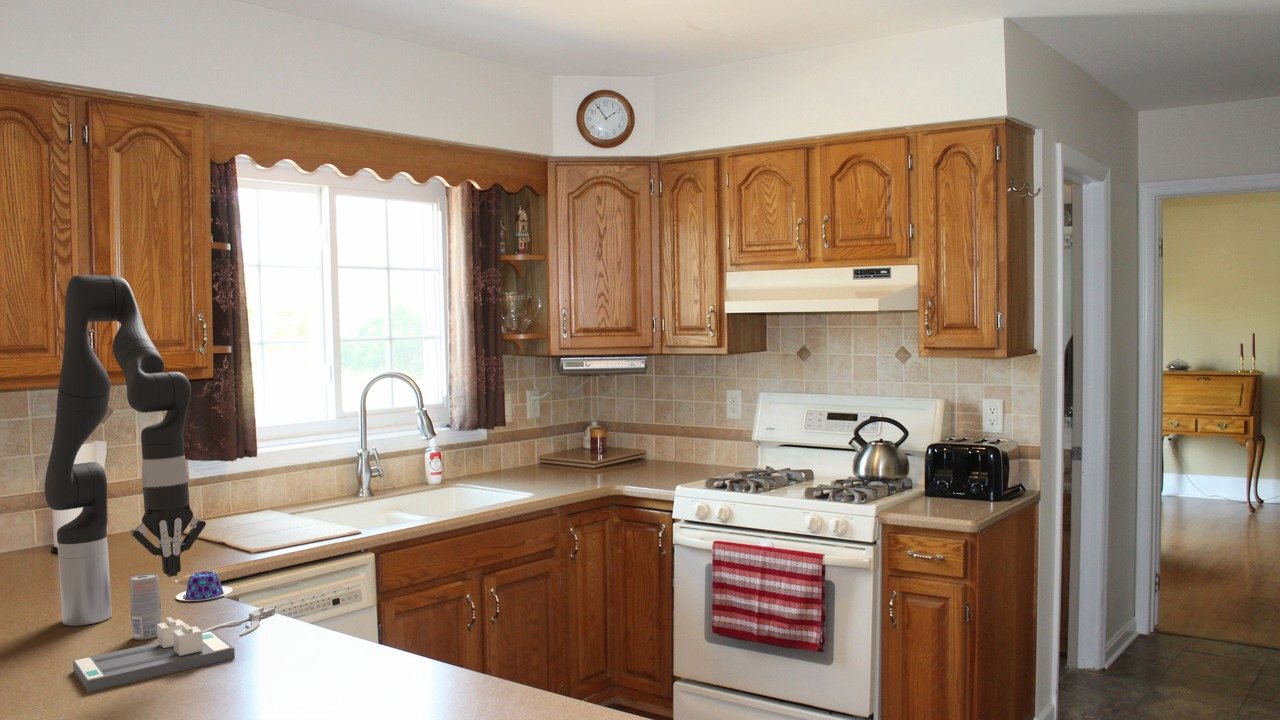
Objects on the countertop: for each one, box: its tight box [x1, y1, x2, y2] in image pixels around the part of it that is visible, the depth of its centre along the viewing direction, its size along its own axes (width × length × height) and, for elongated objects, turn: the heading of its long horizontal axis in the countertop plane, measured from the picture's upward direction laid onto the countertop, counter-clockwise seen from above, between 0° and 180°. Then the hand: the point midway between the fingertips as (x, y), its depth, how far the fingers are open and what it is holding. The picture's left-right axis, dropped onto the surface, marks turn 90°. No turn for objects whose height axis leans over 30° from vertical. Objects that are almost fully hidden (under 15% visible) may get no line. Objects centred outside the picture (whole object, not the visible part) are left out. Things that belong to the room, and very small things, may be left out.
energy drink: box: [128, 572, 163, 641], centre depth 200 cm, size 5×5×12 cm
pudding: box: [175, 570, 234, 602], centre depth 230 cm, size 12×12×5 cm
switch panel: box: [72, 630, 236, 694], centre depth 183 cm, size 14×24×2 cm, turn 128°
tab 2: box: [173, 623, 203, 656], centre depth 183 cm, size 4×4×4 cm
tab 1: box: [157, 616, 186, 648], centre depth 188 cm, size 4×4×4 cm
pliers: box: [201, 606, 276, 637], centre depth 207 cm, size 10×2×15 cm
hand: (171, 575), depth 185 cm, fingers closed
